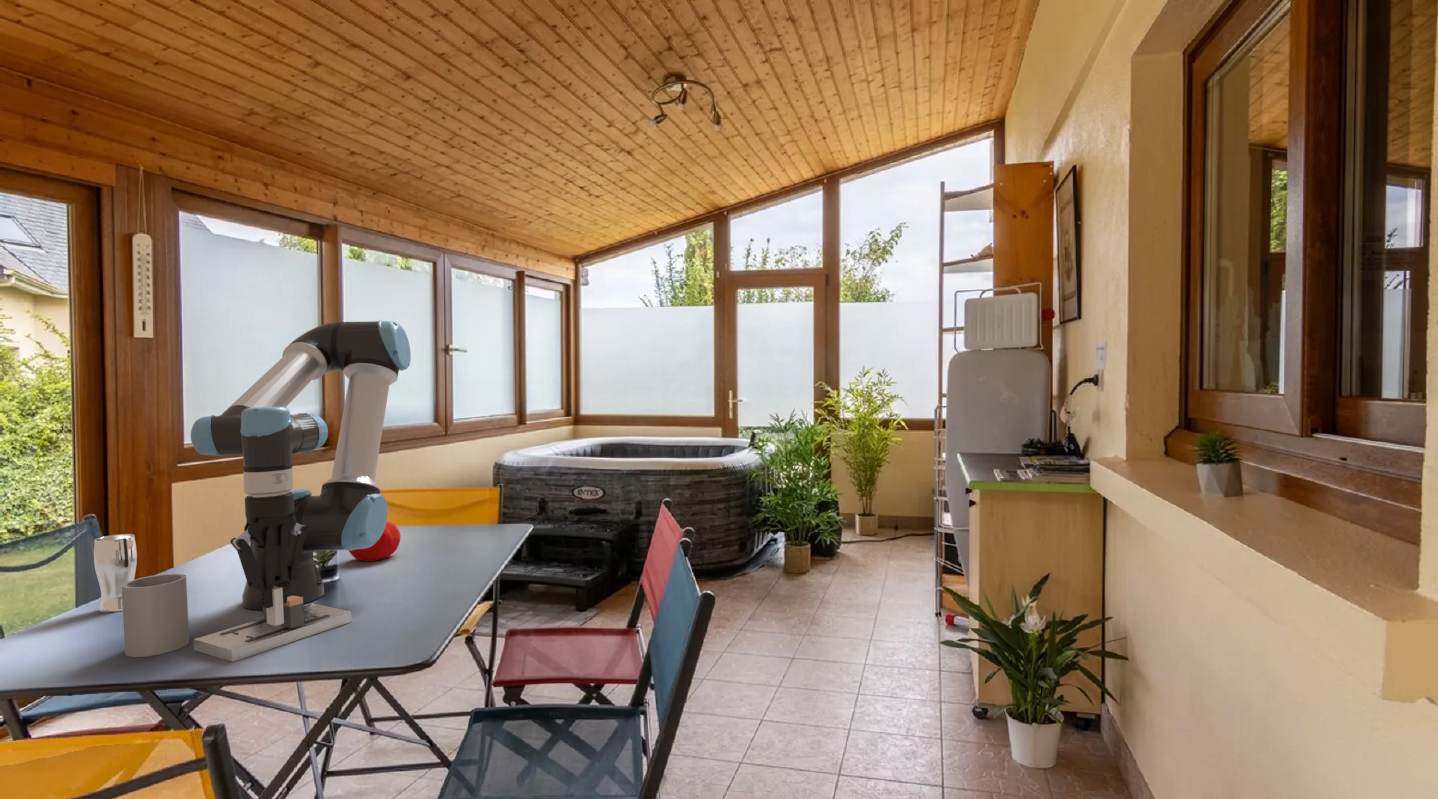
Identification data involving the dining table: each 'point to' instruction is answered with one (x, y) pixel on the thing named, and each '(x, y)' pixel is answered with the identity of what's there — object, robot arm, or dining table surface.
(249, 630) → the console
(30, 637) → the dining table surface
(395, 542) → the tomato
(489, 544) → the dining table surface
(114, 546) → the beer glass
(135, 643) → the cup
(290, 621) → the fader near
